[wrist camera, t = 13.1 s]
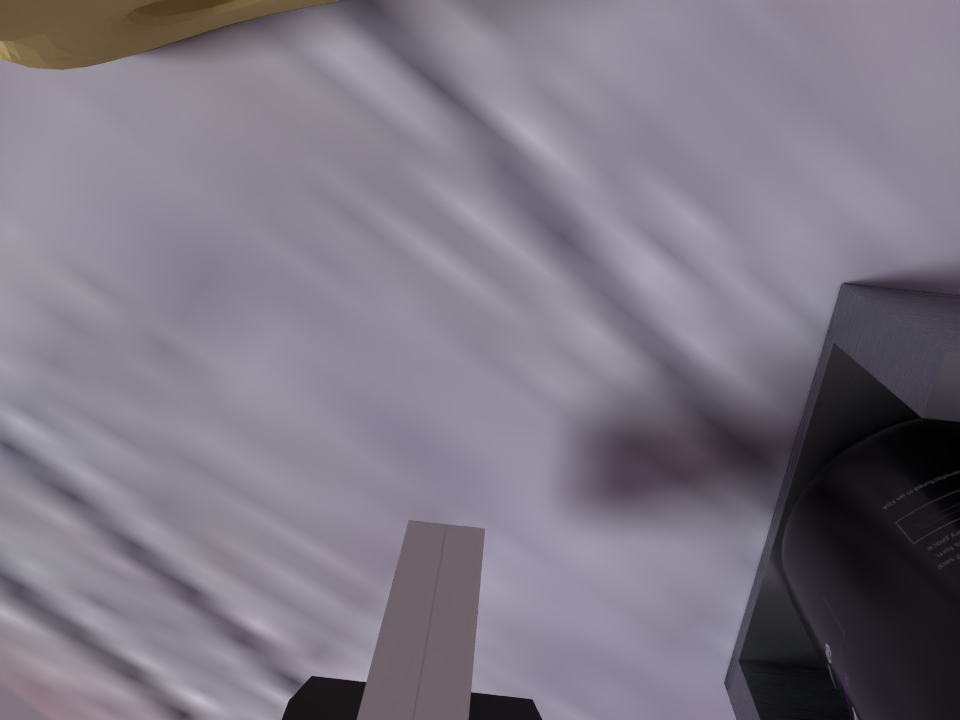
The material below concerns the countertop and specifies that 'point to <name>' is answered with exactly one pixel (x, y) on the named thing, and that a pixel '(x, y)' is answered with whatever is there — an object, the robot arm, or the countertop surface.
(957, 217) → the countertop surface
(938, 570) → the supplement bottle
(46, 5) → the cheese
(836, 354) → the guide channel
